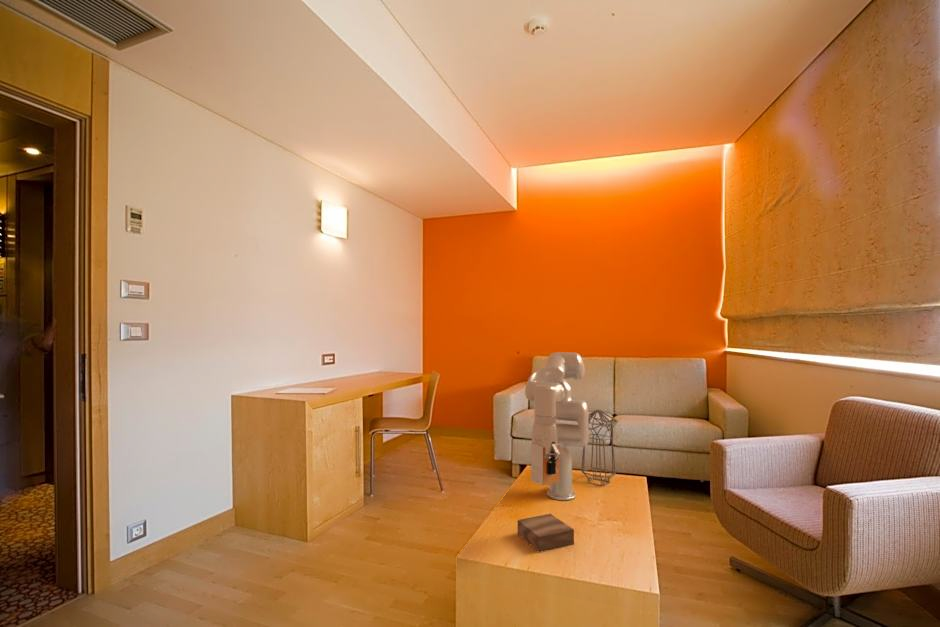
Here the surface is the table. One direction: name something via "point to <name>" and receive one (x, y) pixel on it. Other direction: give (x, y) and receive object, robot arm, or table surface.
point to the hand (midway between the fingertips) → (545, 470)
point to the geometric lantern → (599, 446)
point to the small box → (542, 466)
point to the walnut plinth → (545, 532)
